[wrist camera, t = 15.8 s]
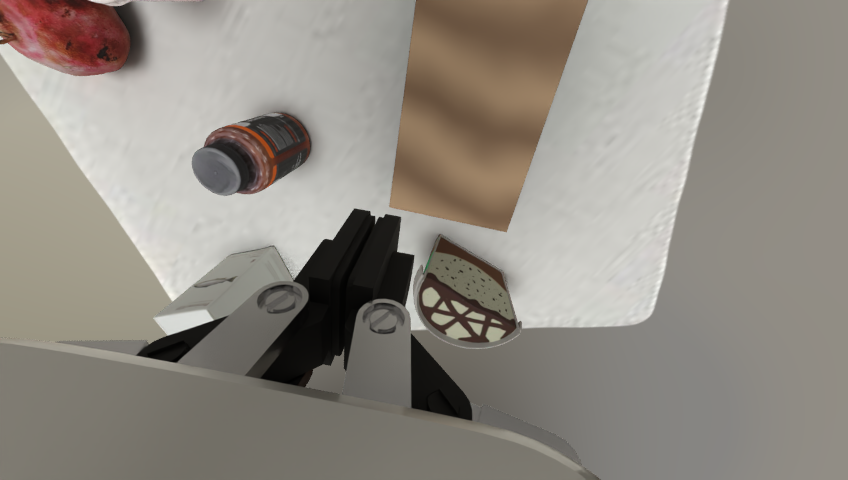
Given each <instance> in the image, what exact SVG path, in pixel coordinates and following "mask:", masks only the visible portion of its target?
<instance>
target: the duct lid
mask: <svg viewBox="0 0 848 480" xmlns="http://www.w3.org/2000/svg"><path fill="white" fill-rule="evenodd" d="M587 2H588V0H416V5H415V13H414V20H413V28H412V36H411V43H410V51H409V59H408V67H407V74H406V82H405V90H404V97H403V105H402V113H401V121H400V128H399V136H398V144H397V151H396V159H395V167H394V175H393V182H392V190H391V198H390V205H389V207H391V208H396V209H401V210H405V211H410V212H415V213H419V214H424V215H429V216H433V217H438V218H443V219H448V220H452V221H457V222H462V223H466V224H471V225H476V226H480V227H485V228H490V229H494V230H499V231H504V232H507V229H508V226H509V224H510V221H511V218H512V215H513V212H514V209H515V207H516V204H517V201H518V198H519V195H520V192H521V189H522V187H523V184H524V181H525V178H526V175H527V172H528V170H529V167H530V164H531V161H532V158H533V155H534V152H535V150H536V147H537V144H538V141H539V138H540V135H541V133H542V130H543V127H544V124H545V121H546V118H547V116H548V113H549V110H550V107H551V104H552V101H553V98H554V96H555V93H556V90H557V87H558V84H559V81H560V79H561V76H562V73H563V70H564V67H565V64H566V62H567V59H568V56H569V53H570V50H571V47H572V44H573V42H574V39H575V36H576V33H577V30H578V27H579V25H580V22H581V19H582V16H583V13H584V10H585V7H586V5H587Z"/></svg>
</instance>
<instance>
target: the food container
mask: <svg viewBox="0 0 848 480" xmlns="http://www.w3.org/2000/svg"><path fill="white" fill-rule="evenodd" d="M413 295H414V304H415V308H416V311H417V313H418V316H419V318H420V320H421V322H422V323H423V325H424V326H425V327H426V328H427V329H428V331H429V332H431V333H432V334H433V335H434V336H436V337H437V338H439V339H441V340H442V341H444V342H447V343H449V344H451V345H455V346H458V347H463V348H471V349H484V348H491V347H495V346H499V345H502V344H504V343H507V342H509V341H511V340H512V339H514V338H516V337H517V336H518V335H520V331H521V330H522V322H521V321H520V322H517V318H516V315H515V311H514V308H513V305H512V301H511V298H510V294H509V291H508V287H507V284H506V280H505V277H504V274H503V271H502V270H500V269H498V268H497V267H495V266H493V265H492V264H490V263H488V262H487V261H485V260H483V259H481V258H480V257H478V256H476V255H475V254H473V253H471V252H470V251H468V250H466V249H465V248H463V247H461V246H459V245H458V244H456V243H454V242H453V241H451V240H449V239H448V238H446V237H444V236H443V235H441V234H440V235H439V236H438V238H437V240H436V242H435V244H434V247H433V249H432V252H431V255H430V257H429V260H428V263H427V265H426V268H425V270H424V273H423V265H421V266H420V268H419V269H418V271H417V273H416V276H415V279H414V285H413Z"/></svg>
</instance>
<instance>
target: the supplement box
mask: <svg viewBox="0 0 848 480" xmlns="http://www.w3.org/2000/svg"><path fill="white" fill-rule="evenodd" d="M279 281H291V282H293V279H292V277H291V275H290V274H289V272H288V270H287V268H286V266H285V264H284V263H283V261H282V259H281V257H280V256H279V254H278V252H277V250H276V249H275V247H273V246H272V247H268V248H264V249H260V250H255V251H250V252H245V253H239V254H233V255H229V256H228V257H227V258H226V259H224V260H223V261H222V262H221V263H219V264H218V265H217V266H216V267H214V268H213V269H212V270H211V271H210V272H208V273H207V274H206V275H205V276H203V277H202V278H201V279H200V280H199V281H197V282H196V283H195V284H194V285H192V286H191V287H190V288H189V289H188V290H186V291H185V292H184V293H183V294H181V295H180V296H179V297H178V298H177V299H176V300H174V301H173V302H172V303H171V304H169V305H168V306H167V307H166V308H164V309H163V310H162V311H161V312H160V313H158V314H157V315H156V316H155V317H153V318H154V320H155V321H156V322H157V323H158V325H159V326H160V327H161V328H162V329H163V330H164V331H165V332H166V334H167V335H171V334H174V333H177V332H180V331H183V330H186V329H189V328H192V327H195V326H198V325H201V324H204V323H207V322H210V321H213V320H216V319H219V318H222V317H225V316H228V315H230V314H231V313H233V312H234V311H235V310H236V309H237V308H238V307H239V306H240V305H242V304H243V303H244V302H245V301H246V300H247V299H248V298H249V297H250V296H252V295H253V294H254V293H255V292H256V291H257V290H259V289H260V288H262V287H263V286H265V285H268V284H270V283H274V282H279Z"/></svg>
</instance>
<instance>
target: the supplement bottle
mask: <svg viewBox="0 0 848 480" xmlns="http://www.w3.org/2000/svg"><path fill="white" fill-rule="evenodd" d="M309 152H310V142H309V137H308V134H307V133H306V131H305V129H304V128H303V126H302V125H301V124H300V123H299V122H298V121H297V120H296V119H294V118H293V117H291V116H289V115H287V114H283V113H270V114H265V115H262V116H258V117H256V118H252V119H249V120H246V121H242V122H238V123H235V124H232V125H228V126H225V127H222V128H219V129H217V130H215V131H213V132H212V133H211V134H210V135H209V136H208V137H207V139H206V141H205V145H204V147H203V148H201V149H199V150H197V151H196V152H195V154H194V155H193V158H192V168H193V171H194V174H195V176H196V178H197V179H198V180H199V182H200V183H201V184H202V185H203V186H204V187H205V188H207V189H208V190H210V191H211V192H213V193H216V194H218V195H224V196H227V195H232V194H234V193H236V192H237V193H241V194H254V193H257V192H259V191H262V190H264V189H265V188H267V187H268V186H270V185H271V184H273V183H275V182H276V181H278V180H279V179H281V178H282V177H284V176H285V175H287V174H288V173H290V172H292V171H293V170H295V169H296V168H298V167H299V166H300V165H302V164H303V163H304V162H305V161H306V159H307V158H308V156H309Z"/></svg>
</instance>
